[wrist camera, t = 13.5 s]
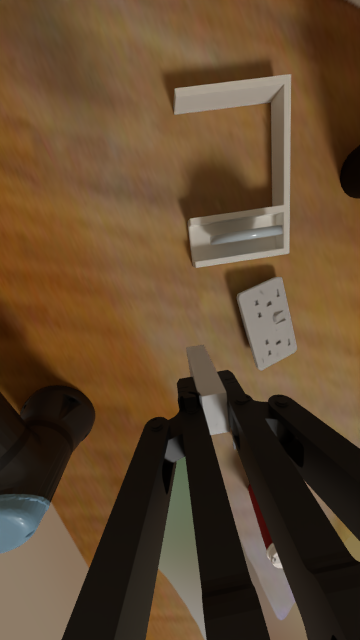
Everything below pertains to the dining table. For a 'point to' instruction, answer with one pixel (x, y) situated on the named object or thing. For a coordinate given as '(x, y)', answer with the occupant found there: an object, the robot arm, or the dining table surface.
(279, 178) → the dish rack
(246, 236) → the grey plate
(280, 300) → the wall socket
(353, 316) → the dining table surface
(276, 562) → the coffee cup
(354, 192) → the vase
